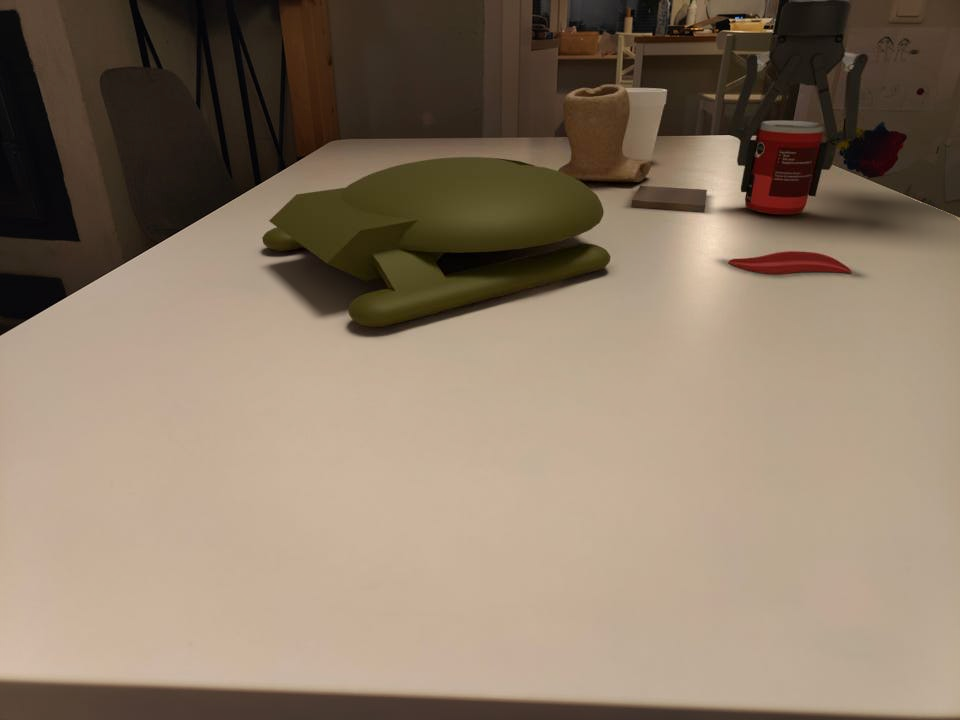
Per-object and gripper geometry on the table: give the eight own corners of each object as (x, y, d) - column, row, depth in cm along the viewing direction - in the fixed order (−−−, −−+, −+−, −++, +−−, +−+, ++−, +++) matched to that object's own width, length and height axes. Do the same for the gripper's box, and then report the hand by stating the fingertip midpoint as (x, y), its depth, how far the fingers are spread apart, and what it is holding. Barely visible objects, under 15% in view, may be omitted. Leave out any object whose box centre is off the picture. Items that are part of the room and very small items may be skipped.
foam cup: (598, 161, 121) (604, 89, 115) (635, 157, 125) (643, 87, 119) (630, 169, 113) (638, 92, 107) (668, 164, 117) (678, 90, 111)
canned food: (760, 198, 90) (776, 118, 85) (815, 208, 85) (836, 124, 80) (732, 207, 86) (747, 123, 81) (788, 218, 81) (807, 129, 75)
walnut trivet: (706, 196, 94) (707, 189, 94) (704, 212, 86) (705, 204, 85) (639, 192, 97) (640, 185, 97) (631, 206, 89) (632, 199, 88)
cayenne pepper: (726, 268, 65) (729, 251, 64) (729, 255, 69) (732, 239, 68) (855, 283, 61) (860, 265, 60) (850, 268, 64) (855, 251, 64)
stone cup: (549, 186, 101) (553, 87, 94) (564, 172, 111) (569, 82, 104) (643, 192, 97) (655, 88, 90) (650, 177, 107) (661, 82, 100)
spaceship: (364, 340, 51) (351, 222, 46) (258, 247, 73) (242, 162, 69) (658, 260, 67) (670, 168, 63) (498, 205, 90) (498, 134, 86)
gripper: (725, 1, 74) (697, 193, 84) (925, -5, 68) (867, 203, 78) (726, 4, 80) (699, 182, 91) (908, -1, 74) (856, 190, 84)
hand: (776, 191), depth 84 cm, fingers closed on canned food, 8 cm apart
